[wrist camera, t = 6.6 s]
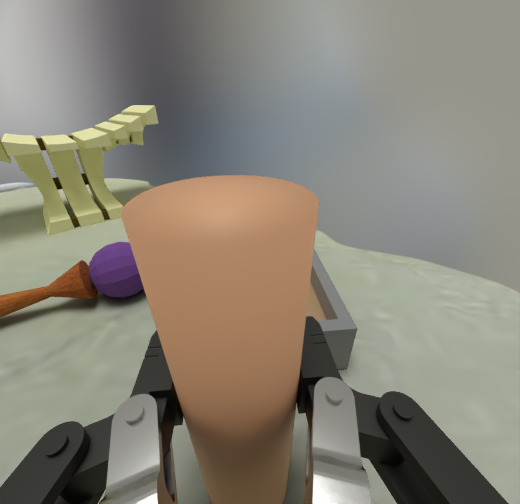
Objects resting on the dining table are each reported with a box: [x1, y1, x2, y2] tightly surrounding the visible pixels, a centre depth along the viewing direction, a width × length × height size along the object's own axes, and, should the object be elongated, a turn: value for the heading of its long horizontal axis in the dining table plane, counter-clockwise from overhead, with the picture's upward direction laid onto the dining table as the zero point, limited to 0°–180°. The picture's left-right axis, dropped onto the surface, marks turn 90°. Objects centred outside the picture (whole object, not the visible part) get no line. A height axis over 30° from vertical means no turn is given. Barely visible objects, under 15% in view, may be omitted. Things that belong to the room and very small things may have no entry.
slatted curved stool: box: [0, 105, 158, 235], centre depth 45 cm, size 30×16×18 cm, turn 130°
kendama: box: [0, 242, 144, 317], centre depth 25 cm, size 6×6×20 cm
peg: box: [121, 175, 319, 504], centre depth 10 cm, size 4×4×16 cm
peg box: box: [156, 250, 357, 369], centre depth 28 cm, size 14×22×4 cm, turn 5°
